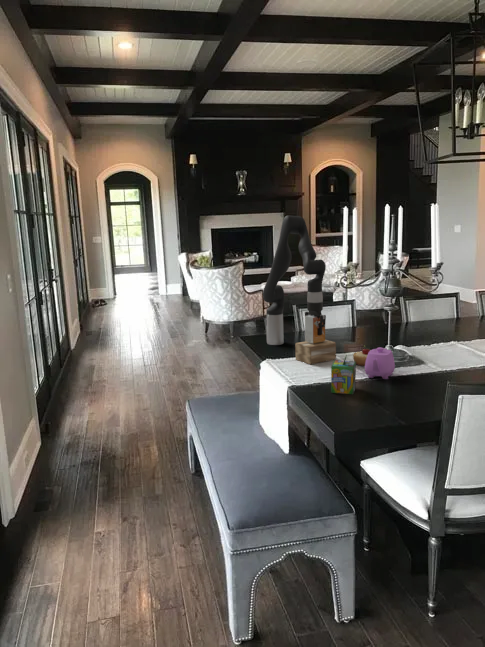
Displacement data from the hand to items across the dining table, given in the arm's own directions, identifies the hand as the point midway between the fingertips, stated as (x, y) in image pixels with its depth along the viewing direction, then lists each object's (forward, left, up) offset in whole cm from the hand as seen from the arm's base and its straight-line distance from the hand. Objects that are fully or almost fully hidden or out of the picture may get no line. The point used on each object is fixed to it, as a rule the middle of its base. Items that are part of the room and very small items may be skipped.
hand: (315, 333), depth 262 cm
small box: (0, 0, -4) cm, 4 cm away
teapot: (+39, +5, -13) cm, 42 cm away
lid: (0, 0, -5) cm, 5 cm away
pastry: (+21, +14, -13) cm, 29 cm away
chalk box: (+45, -21, -13) cm, 52 cm away
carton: (0, 0, -13) cm, 13 cm away
